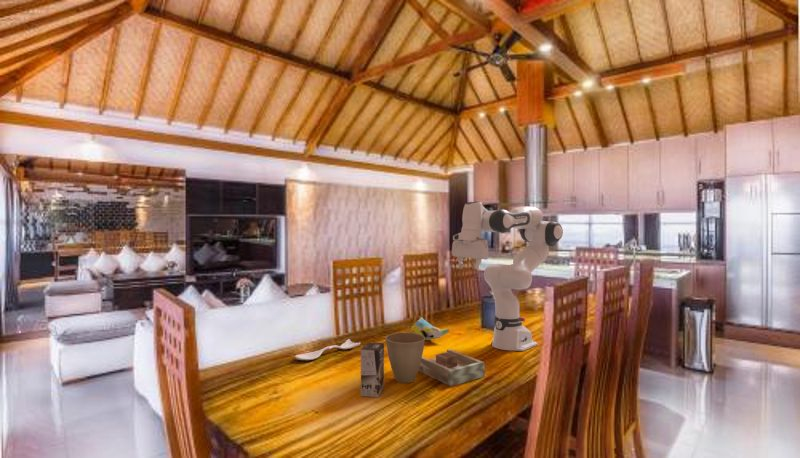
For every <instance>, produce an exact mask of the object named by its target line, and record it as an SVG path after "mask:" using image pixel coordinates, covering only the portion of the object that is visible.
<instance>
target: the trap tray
mask: <svg viewBox="0 0 800 458" xmlns="http://www.w3.org/2000/svg"><path fill="white" fill-rule="evenodd" d="M446 352H448V353H451V354H453V355H456V356H457V366H455V367H451V368H447V367H445V366H443V365H440V364H438V363H436V357H434V358H431V359H429V358H426V357H424V356H422V359H421V363H420V366H419V369H418V372H420V373H422V374H424V375H426V376H429V377H430V378H433V379H435V380H437V381H438V382H441V383H442V384H445V385H447V386H450V387H454V386H457V385H461V384H464V383H467V382H470V381H474V380H477V379H481V378H485V376H486V375H485V373H486V372H485V368H486V367H485V364H486V363H485V362H484V361H482V360H479V359H477V358H474V357H471V356H469V355H467V354H463V353H460V352H458V351H455V350H452V349H451V348H450V349H446Z"/></svg>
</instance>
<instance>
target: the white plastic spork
mask: <svg viewBox="0 0 800 458" xmlns="http://www.w3.org/2000/svg"><path fill="white" fill-rule="evenodd" d="M360 345H361V342H353V341H351V339H350V338H349V339H346V341H344V342H343V343H342V344H341V345H336V344H335V345H329V346H326V347H324V348H321V349H319V350H315V351H311V352H310V351H309V352H306V353H302V354H296V355H294V358H295V359H296V360H300V361H313V360H315V359H317V358H319V357H320V356H321V355H322V353H323V352H325V351H327V350H331V349H334V348H336V349H340V350H348V349H352V348H355V347H357V346H360Z"/></svg>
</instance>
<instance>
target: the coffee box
mask: <svg viewBox="0 0 800 458" xmlns="http://www.w3.org/2000/svg"><path fill="white" fill-rule="evenodd" d="M384 389H385V343H383V342H367V343H365V345H364V346H363V347H361V349H360V396H361V397H371V398H378V397H379V396H380V395H381V394H382V392H383V390H384Z"/></svg>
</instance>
